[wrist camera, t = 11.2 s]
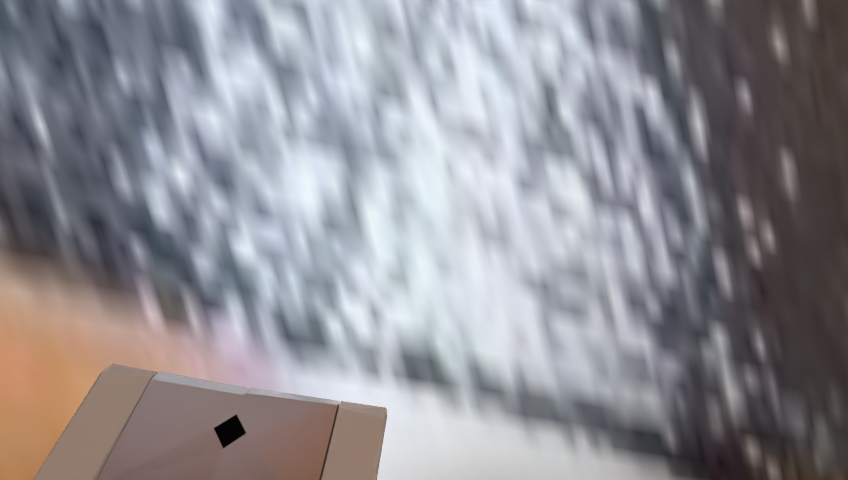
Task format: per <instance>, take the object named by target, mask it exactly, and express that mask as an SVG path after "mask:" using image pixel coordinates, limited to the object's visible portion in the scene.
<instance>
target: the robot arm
mask: <svg viewBox="0 0 848 480" xmlns="http://www.w3.org/2000/svg"><path fill="white" fill-rule="evenodd" d="M386 419H387V410H386V408H383V407H377V406H370V405H363V404H356V403H350V402H343V401H341V404H340V401H335V400H329V399H322V398H315V397H309V396H302V395H295V394H289V393H282V392H276V391H269V390H262V389H256V388H246V387H240V386H235V385H230V384H224V383H219V382H213V381H208V380H203V379H197V378H192V377H187V376H181V375H176V374H170V373H165V372H154V371H149V370H143V369H138V368H133V367H128V366H123V365H117V364H112V365H111V366H109V367H108V368H107V369H105V370H104V371H103V372H102V373H100V375H99V376H98V378H97V380H96V381H95V383H94V384H93V386H92V387H91V389H90V391H89V392H88V394H87V395H86V397H85V398H84V400H83V402H82V403H81V405H80V406H79V408H78V409H77V411H76V413H75V414H74V416H73V417H72V419H71V420H70V422H69V424H68V425H67V427H66V428H65V430H64V431H63V433H62V435H61V436H60V438H59V439H58V441H57V442H56V444H55V446H54V447H53V449H52V450H51V452H50V453H49V455H48V457H47V458H46V460H45V461H44V463H43V464H42V466H41V468H40V469H39V471H38V472H37V474H36V475H35V477H34V479H33V480H377V474H378V468H379V462H380V456H381V450H382V444H383V437H384V431H385V425H386Z"/></svg>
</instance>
